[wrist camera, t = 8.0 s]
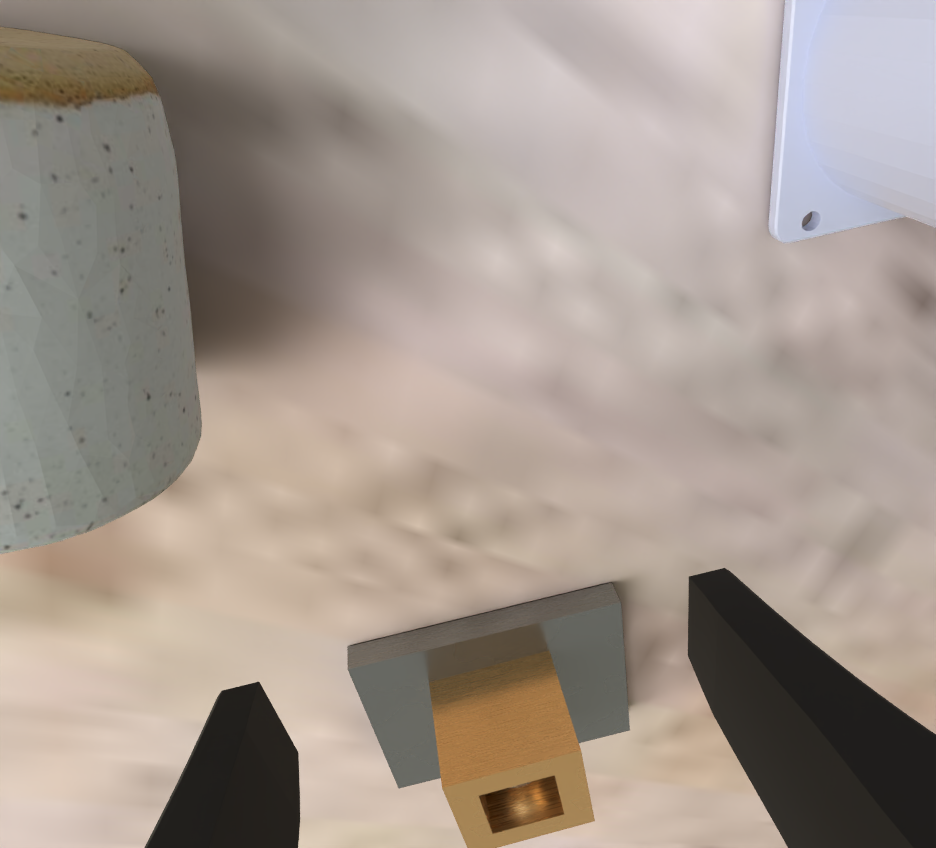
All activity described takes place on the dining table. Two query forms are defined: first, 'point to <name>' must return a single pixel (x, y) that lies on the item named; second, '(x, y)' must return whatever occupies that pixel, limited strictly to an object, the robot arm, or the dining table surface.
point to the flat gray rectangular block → (486, 644)
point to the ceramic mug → (88, 292)
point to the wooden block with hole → (509, 752)
